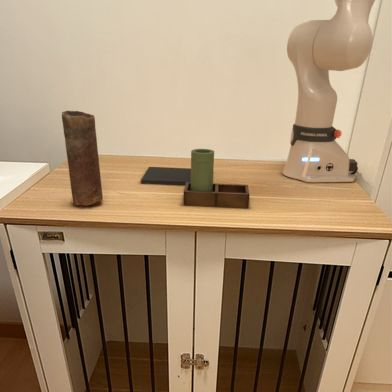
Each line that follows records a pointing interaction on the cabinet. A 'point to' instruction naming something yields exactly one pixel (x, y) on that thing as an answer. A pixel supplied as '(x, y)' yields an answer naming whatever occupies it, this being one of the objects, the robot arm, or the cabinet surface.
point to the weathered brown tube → (82, 157)
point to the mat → (167, 176)
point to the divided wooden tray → (218, 196)
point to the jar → (202, 170)
